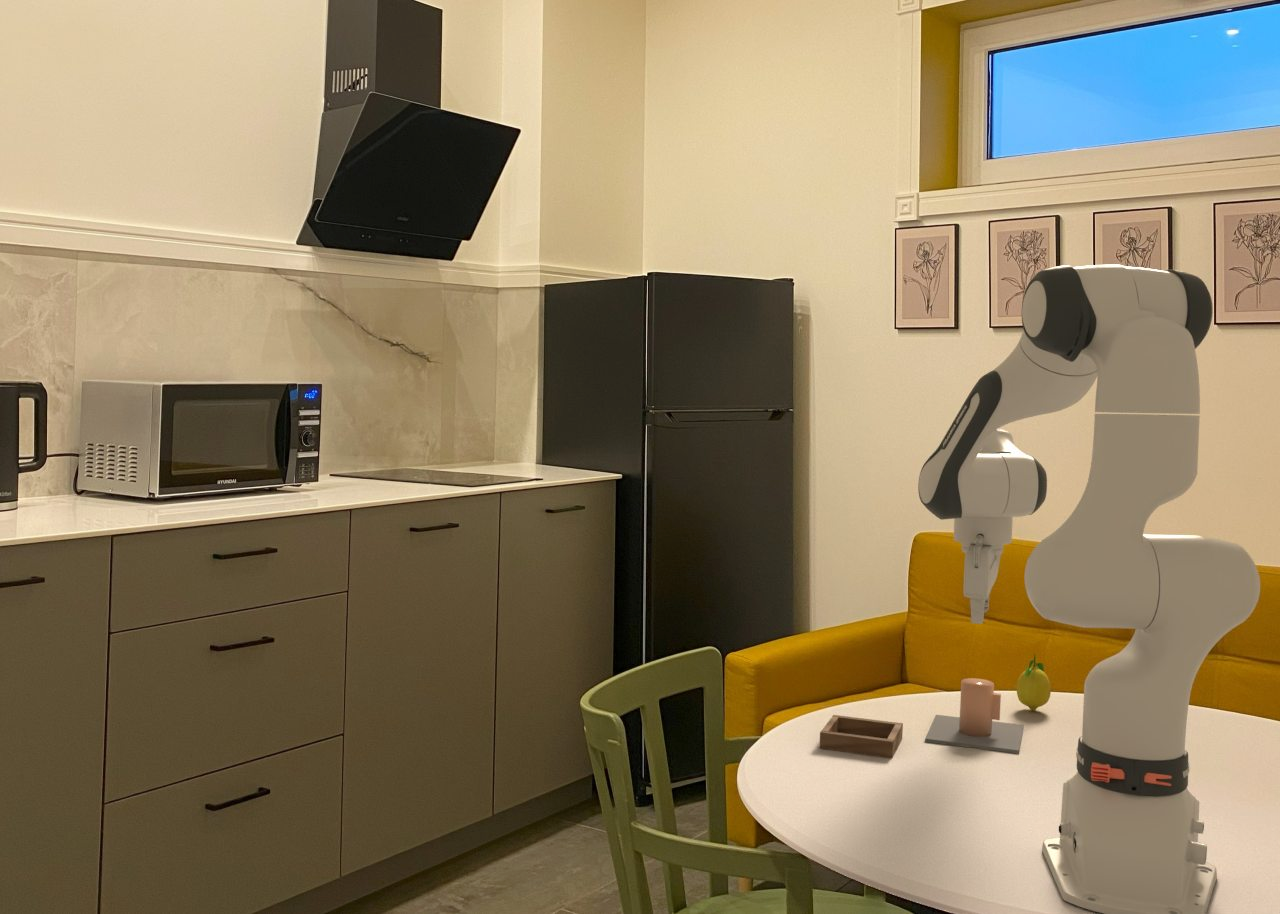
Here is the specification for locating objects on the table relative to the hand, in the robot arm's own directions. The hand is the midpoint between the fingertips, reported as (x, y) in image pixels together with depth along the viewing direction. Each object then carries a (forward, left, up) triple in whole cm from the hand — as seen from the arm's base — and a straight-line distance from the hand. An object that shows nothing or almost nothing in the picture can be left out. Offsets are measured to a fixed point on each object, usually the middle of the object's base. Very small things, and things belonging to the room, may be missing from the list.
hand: (979, 617), depth 181 cm
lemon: (+18, -8, -19) cm, 27 cm away
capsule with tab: (0, 0, -18) cm, 19 cm away
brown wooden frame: (-12, +16, -19) cm, 28 cm away
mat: (0, 0, -19) cm, 19 cm away
